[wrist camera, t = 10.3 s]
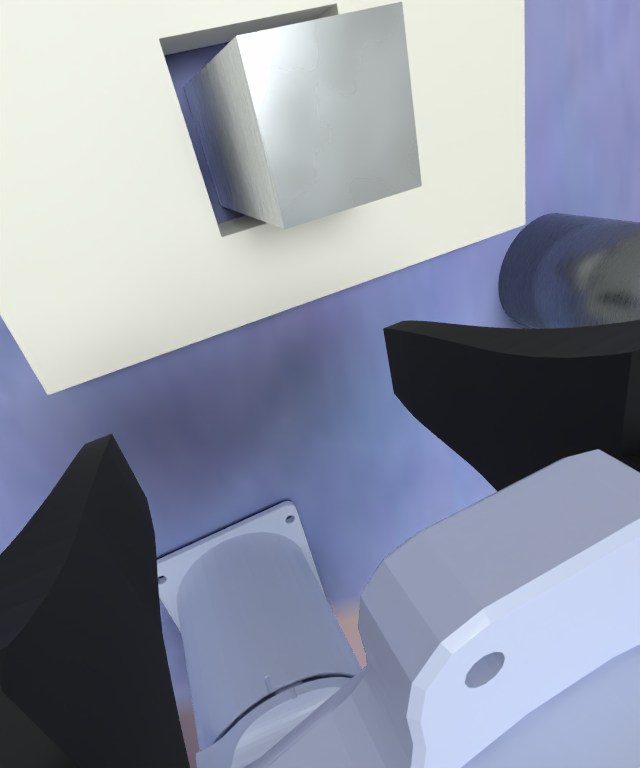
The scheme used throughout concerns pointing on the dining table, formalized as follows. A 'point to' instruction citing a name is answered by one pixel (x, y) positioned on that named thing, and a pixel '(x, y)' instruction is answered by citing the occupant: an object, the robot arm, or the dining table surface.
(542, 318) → the round dark peg
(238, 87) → the square steel peg
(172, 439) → the dining table surface
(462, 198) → the cream socket block
